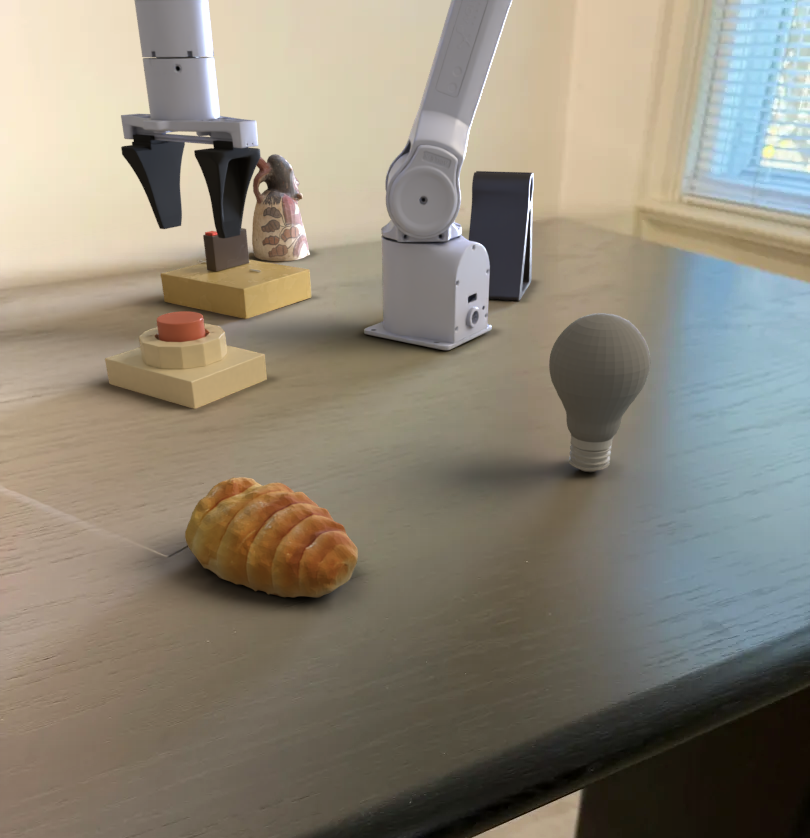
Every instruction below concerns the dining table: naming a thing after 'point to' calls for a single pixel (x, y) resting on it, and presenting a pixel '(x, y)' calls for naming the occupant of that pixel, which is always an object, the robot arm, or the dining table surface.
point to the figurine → (278, 213)
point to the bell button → (180, 326)
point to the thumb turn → (225, 251)
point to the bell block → (186, 368)
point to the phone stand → (504, 229)
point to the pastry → (270, 539)
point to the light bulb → (597, 382)
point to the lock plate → (237, 288)
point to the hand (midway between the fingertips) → (199, 231)
